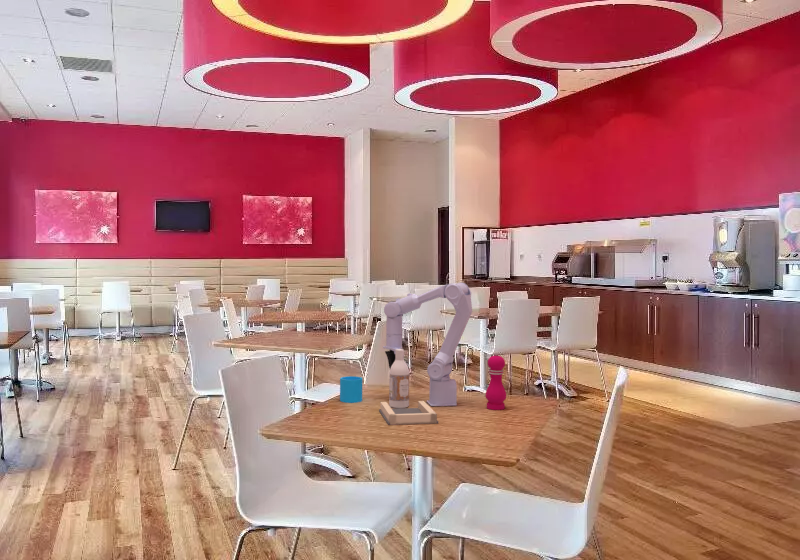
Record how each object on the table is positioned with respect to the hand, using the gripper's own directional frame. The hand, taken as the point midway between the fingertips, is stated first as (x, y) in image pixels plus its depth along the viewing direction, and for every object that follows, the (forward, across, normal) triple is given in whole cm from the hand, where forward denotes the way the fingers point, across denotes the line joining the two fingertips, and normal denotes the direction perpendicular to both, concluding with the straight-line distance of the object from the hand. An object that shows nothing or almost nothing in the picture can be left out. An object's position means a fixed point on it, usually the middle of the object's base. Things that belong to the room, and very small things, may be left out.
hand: (393, 371), depth 251 cm
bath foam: (+11, +12, 0) cm, 16 cm away
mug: (+11, -2, -15) cm, 19 cm away
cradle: (+10, +28, 0) cm, 30 cm away
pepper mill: (+11, +19, +33) cm, 40 cm away
